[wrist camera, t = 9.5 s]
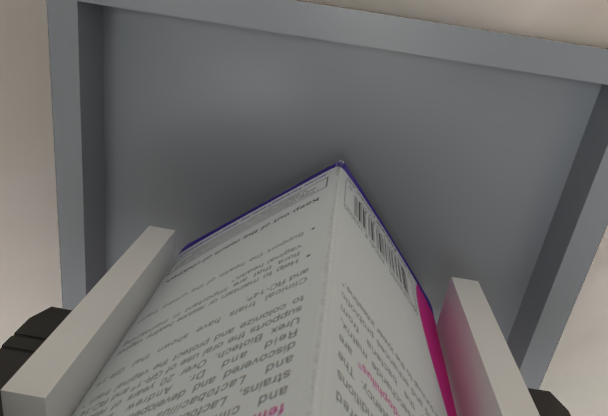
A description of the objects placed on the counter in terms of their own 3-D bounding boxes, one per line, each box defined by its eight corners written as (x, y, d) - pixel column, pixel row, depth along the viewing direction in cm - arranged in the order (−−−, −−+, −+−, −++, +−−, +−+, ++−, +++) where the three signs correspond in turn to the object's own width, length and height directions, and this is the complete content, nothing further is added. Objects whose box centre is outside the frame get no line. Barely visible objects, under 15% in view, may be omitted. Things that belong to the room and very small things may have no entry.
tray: (84, -33, 14) (44, -39, 12) (633, 53, 14) (676, 60, 12) (94, 389, 20) (69, 428, 18) (477, 457, 20) (490, 504, 18)
